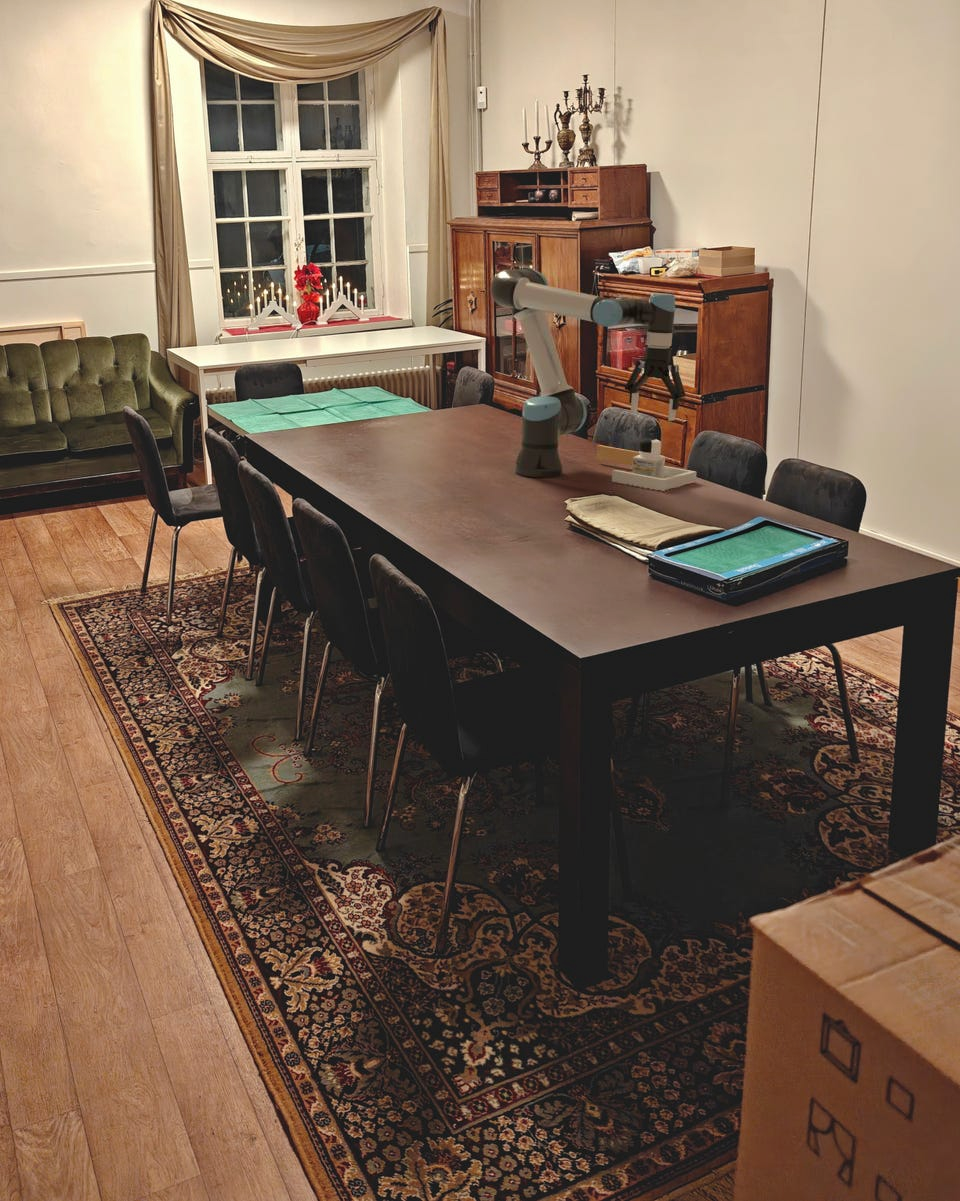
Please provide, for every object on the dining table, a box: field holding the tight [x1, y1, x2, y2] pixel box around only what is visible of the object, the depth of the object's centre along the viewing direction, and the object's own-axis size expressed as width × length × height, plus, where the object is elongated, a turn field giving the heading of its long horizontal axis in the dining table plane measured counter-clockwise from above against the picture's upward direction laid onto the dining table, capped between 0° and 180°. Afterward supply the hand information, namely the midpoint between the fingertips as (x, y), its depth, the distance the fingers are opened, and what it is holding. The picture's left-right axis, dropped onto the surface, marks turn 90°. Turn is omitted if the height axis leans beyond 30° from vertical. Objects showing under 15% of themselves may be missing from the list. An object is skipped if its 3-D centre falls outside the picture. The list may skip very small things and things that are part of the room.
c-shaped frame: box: [611, 465, 698, 492], centre depth 354 cm, size 19×18×4 cm
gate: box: [596, 444, 640, 467], centre depth 373 cm, size 20×2×6 cm, turn 49°
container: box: [631, 438, 666, 479], centre depth 354 cm, size 8×8×13 cm
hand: (652, 417), depth 350 cm, fingers open, 13 cm apart
